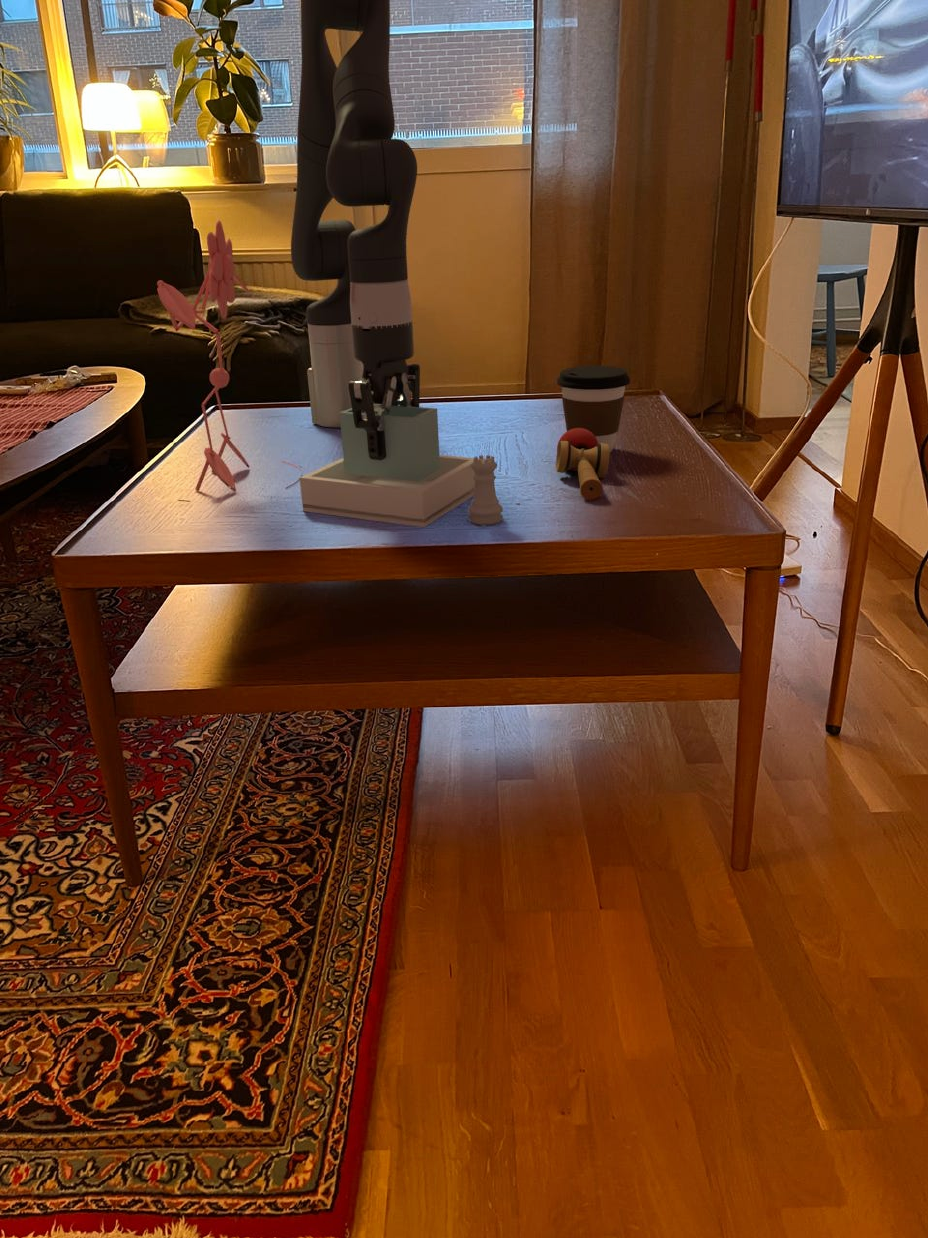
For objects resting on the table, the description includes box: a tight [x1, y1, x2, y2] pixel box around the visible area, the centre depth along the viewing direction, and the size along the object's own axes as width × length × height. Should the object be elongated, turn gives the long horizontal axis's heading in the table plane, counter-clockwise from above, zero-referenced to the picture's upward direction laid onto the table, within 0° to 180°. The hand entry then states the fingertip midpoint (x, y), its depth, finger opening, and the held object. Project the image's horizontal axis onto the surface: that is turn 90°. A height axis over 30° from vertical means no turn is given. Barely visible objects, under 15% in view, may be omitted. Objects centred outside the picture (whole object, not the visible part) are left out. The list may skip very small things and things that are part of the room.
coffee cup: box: [556, 365, 631, 453], centre depth 148 cm, size 11×11×12 cm
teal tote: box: [340, 403, 440, 481], centre depth 127 cm, size 11×6×8 cm, turn 63°
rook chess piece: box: [467, 454, 504, 527], centre depth 120 cm, size 4×4×8 cm
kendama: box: [555, 428, 611, 501], centre depth 135 cm, size 8×6×18 cm
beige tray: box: [299, 454, 475, 528], centre depth 129 cm, size 18×16×4 cm
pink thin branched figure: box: [156, 220, 303, 503], centre depth 134 cm, size 15×26×35 cm, turn 179°
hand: (390, 452), depth 127 cm, fingers closed on teal tote, 6 cm apart
